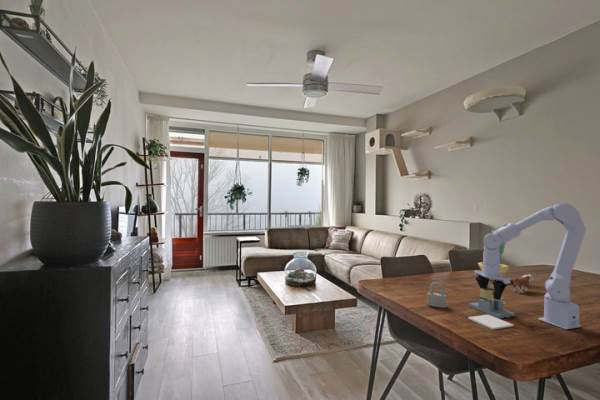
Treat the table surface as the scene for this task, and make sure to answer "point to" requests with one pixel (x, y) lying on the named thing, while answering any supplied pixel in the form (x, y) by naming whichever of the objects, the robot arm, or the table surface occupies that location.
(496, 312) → the vise
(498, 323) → the mat
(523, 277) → the bull figurine
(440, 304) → the padlock
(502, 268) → the potted cactus
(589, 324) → the table surface
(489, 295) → the sleeve
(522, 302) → the table surface
